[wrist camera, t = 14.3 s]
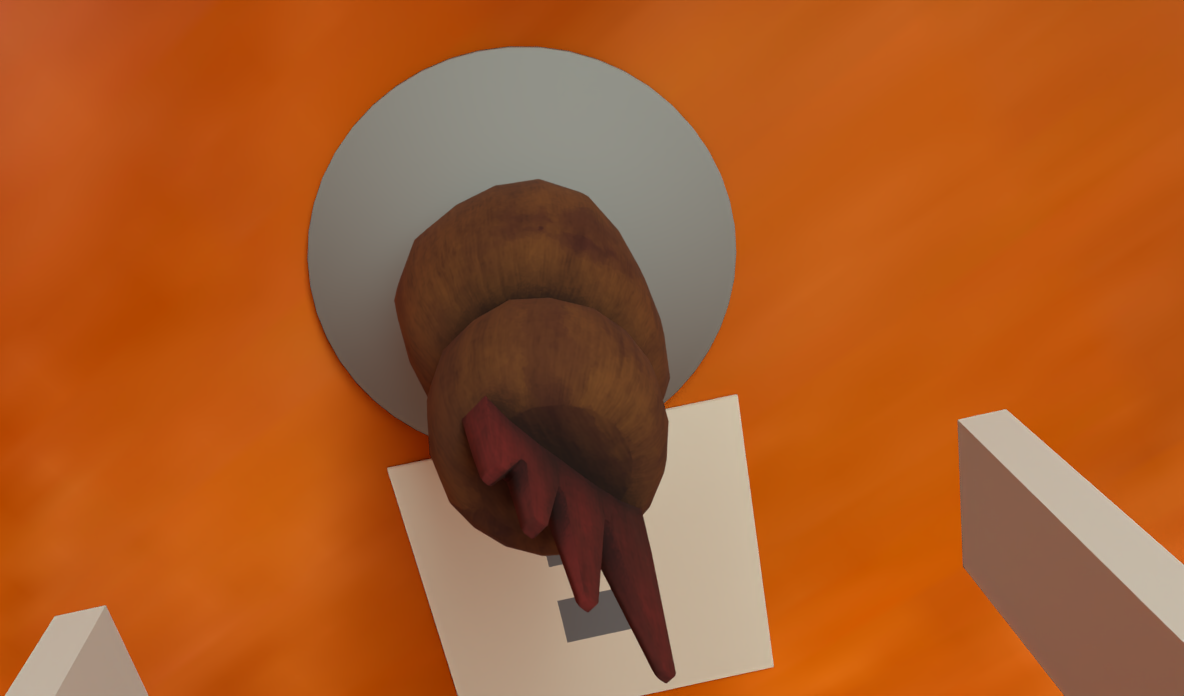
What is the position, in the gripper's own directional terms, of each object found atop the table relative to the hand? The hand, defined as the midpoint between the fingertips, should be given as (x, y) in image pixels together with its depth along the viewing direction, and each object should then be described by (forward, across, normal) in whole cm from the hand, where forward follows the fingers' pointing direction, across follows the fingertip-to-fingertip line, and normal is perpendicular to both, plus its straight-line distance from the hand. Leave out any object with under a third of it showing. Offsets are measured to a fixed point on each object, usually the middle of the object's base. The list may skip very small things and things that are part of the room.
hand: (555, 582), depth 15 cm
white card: (+14, 0, -10) cm, 18 cm away
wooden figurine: (+14, 0, 0) cm, 14 cm away
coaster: (+14, 0, +1) cm, 14 cm away
